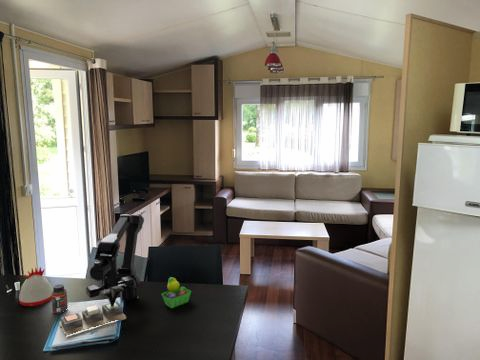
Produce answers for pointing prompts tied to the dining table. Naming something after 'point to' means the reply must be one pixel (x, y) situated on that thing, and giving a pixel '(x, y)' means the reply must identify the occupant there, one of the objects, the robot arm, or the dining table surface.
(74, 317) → the button terracotta
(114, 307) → the button sage
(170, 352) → the dining table surface
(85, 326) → the button panel
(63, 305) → the supplement bottle
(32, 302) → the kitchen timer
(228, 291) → the dining table surface
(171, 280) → the fruit basket
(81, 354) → the dining table surface
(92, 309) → the button cream
